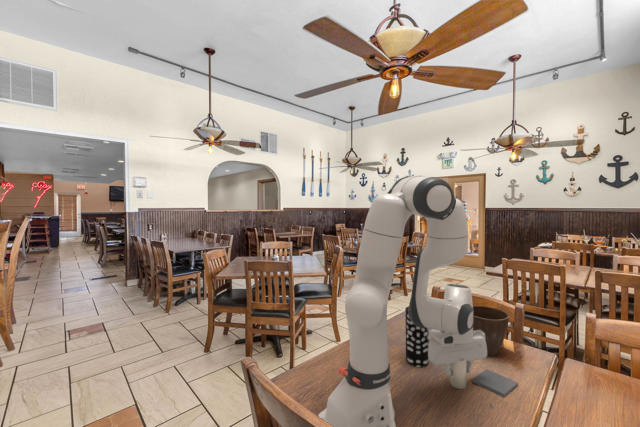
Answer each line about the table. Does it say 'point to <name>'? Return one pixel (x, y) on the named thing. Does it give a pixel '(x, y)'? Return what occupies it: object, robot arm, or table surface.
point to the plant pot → (491, 326)
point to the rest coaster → (495, 382)
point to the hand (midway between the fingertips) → (458, 373)
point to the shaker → (458, 374)
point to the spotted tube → (416, 343)
